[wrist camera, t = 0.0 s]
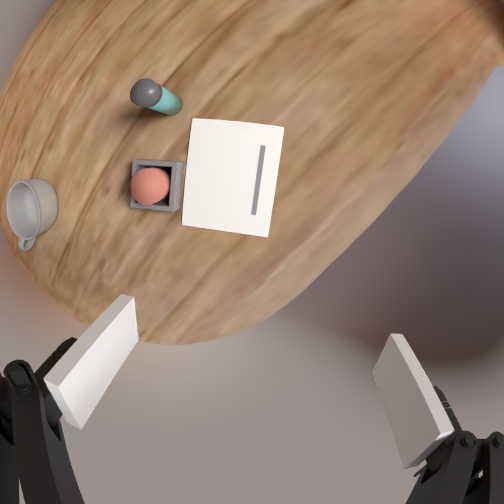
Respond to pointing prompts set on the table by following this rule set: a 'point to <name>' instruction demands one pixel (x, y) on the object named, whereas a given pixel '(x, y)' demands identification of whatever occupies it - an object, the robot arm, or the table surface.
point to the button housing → (174, 188)
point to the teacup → (31, 209)
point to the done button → (150, 185)
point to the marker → (155, 97)
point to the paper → (231, 176)
